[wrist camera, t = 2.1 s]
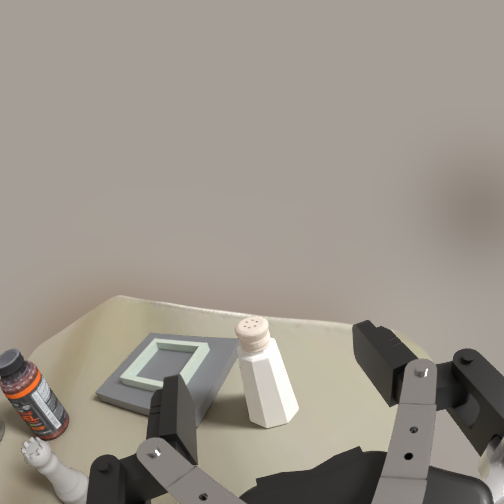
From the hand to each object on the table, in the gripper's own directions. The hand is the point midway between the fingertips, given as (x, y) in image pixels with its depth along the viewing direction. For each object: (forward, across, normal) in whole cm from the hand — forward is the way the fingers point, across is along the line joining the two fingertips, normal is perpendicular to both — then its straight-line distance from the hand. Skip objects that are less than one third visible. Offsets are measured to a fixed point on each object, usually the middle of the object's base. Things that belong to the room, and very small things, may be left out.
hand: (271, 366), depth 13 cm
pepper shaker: (+12, 0, +16) cm, 20 cm away
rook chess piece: (+4, +22, +16) cm, 27 cm away
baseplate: (+21, +12, +15) cm, 28 cm away
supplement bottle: (+14, +28, +16) cm, 35 cm away
